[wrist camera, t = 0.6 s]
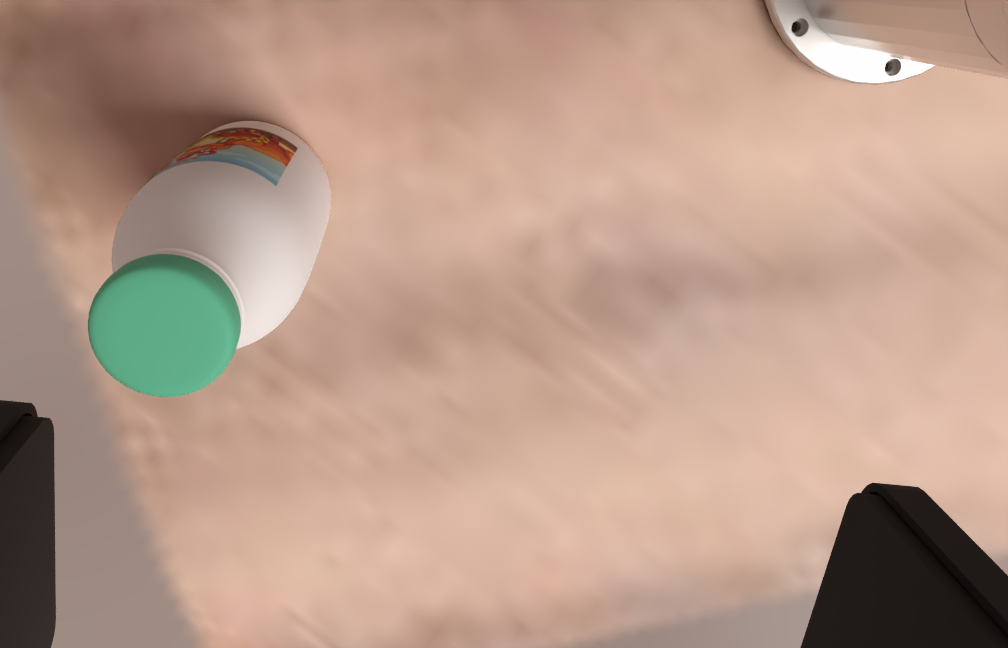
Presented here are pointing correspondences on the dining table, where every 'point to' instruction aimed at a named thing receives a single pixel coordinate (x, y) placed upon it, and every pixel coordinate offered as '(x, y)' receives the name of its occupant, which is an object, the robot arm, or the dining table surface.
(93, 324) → the milk bottle
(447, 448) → the dining table surface
